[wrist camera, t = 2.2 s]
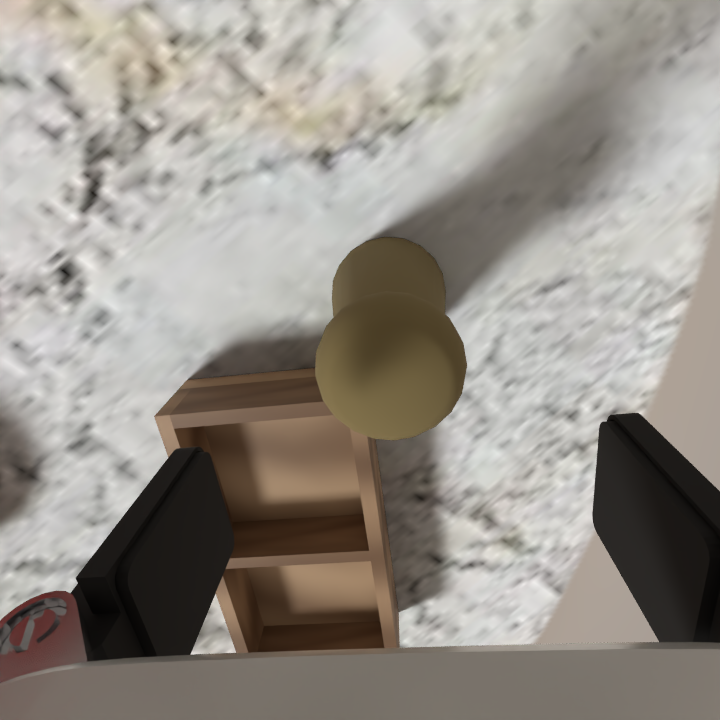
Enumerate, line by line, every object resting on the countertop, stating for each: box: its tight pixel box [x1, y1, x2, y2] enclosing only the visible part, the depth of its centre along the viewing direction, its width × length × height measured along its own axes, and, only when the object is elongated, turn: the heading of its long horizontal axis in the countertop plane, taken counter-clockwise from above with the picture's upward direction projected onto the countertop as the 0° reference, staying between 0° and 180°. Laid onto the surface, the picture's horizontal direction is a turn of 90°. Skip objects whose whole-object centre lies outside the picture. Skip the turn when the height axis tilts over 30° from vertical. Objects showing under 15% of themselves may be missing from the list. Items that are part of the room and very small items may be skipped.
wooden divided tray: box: [154, 368, 400, 653], centre depth 29 cm, size 20×11×4 cm, turn 7°
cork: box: [315, 237, 467, 440], centre depth 19 cm, size 6×6×11 cm
